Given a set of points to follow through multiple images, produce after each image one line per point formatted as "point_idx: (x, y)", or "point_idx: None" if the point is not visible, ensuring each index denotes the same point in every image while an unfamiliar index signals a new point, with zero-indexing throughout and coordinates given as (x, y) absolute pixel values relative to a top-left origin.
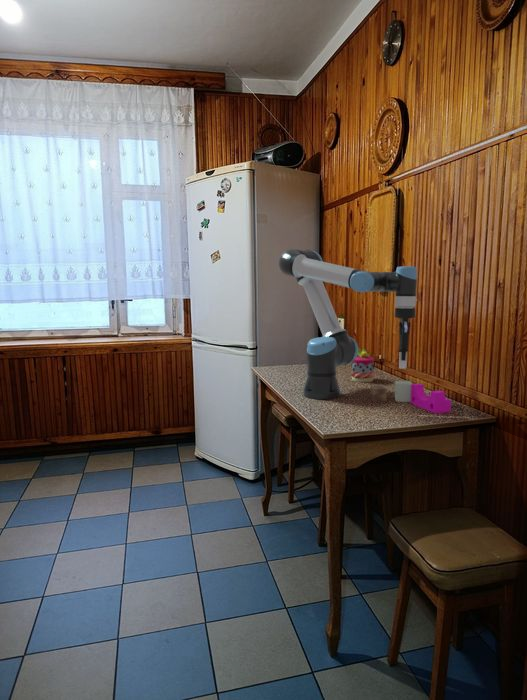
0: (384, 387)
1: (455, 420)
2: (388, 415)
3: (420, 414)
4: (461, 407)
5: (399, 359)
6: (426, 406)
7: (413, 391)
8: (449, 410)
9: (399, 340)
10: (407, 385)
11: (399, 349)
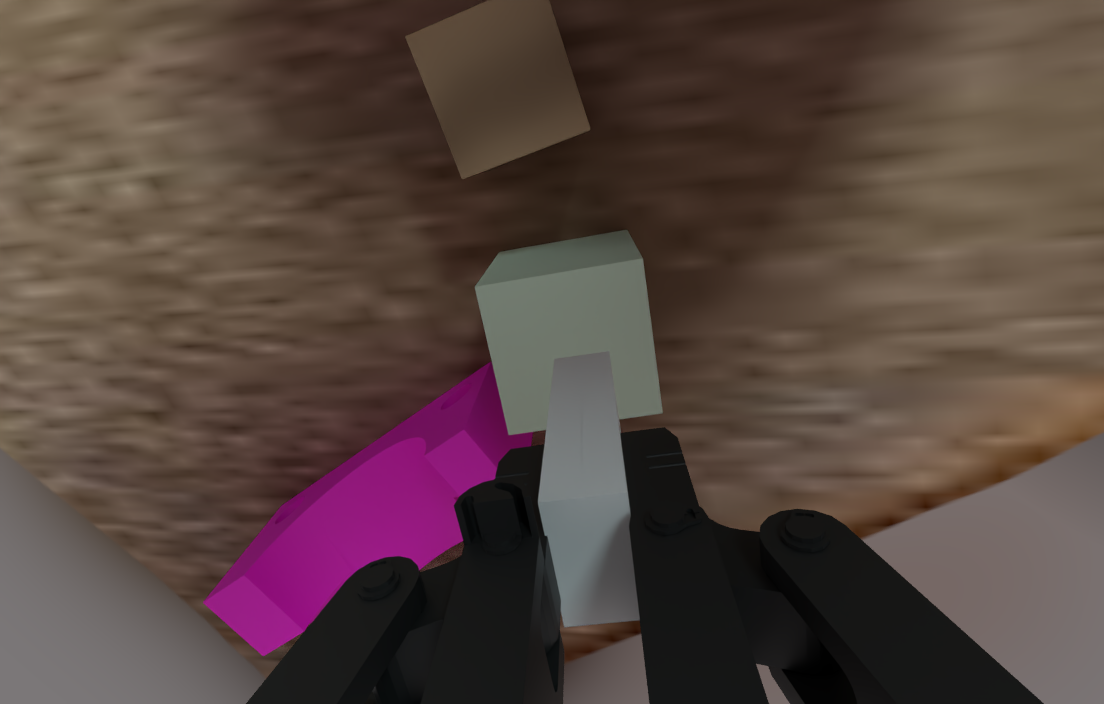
0: (518, 149)
1: (182, 593)
2: (70, 235)
3: (208, 429)
4: None
5: (559, 417)
6: (338, 472)
7: (445, 421)
8: None
9: (1017, 693)
10: (499, 385)
11: (654, 515)
